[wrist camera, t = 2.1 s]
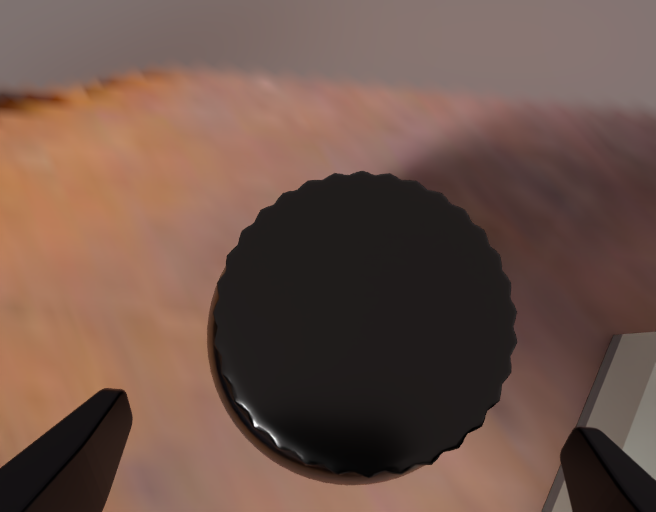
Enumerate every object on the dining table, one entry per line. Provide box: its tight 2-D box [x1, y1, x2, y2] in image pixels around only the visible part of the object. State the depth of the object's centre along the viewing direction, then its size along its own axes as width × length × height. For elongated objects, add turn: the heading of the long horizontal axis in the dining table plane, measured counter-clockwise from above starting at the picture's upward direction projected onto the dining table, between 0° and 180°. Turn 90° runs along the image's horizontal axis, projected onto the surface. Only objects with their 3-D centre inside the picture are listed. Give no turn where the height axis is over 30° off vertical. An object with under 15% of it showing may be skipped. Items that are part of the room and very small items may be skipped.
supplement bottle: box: [207, 171, 517, 485], centre depth 13 cm, size 7×7×12 cm
